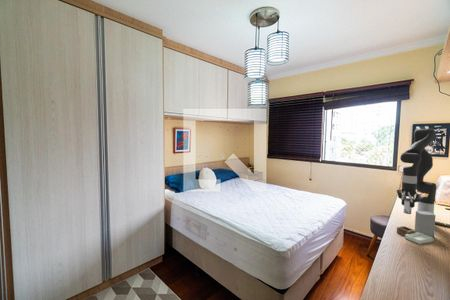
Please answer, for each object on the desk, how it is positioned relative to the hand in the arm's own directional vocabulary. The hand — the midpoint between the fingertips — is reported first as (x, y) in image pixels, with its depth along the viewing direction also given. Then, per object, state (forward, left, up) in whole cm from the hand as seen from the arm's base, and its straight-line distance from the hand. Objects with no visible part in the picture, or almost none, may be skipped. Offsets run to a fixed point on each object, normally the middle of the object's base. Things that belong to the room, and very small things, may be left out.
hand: (407, 206), depth 141 cm
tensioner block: (0, 0, -20) cm, 20 cm away
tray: (+1, +8, -20) cm, 21 cm away
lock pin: (0, 0, -5) cm, 5 cm away
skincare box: (-12, +4, -20) cm, 24 cm away
